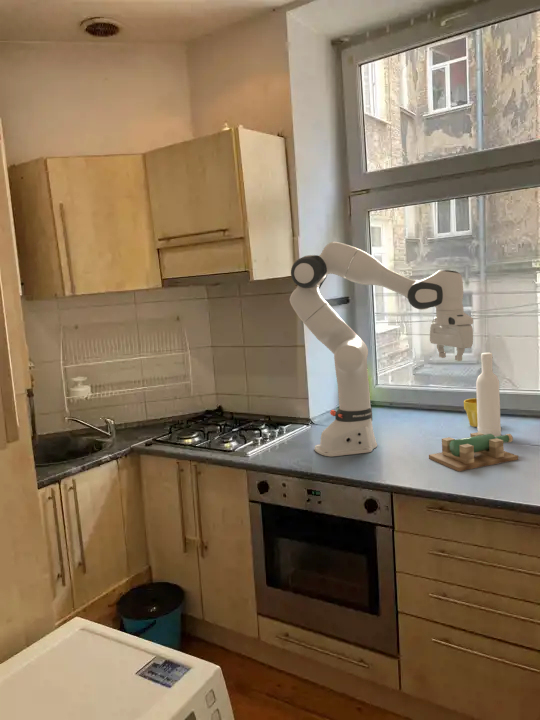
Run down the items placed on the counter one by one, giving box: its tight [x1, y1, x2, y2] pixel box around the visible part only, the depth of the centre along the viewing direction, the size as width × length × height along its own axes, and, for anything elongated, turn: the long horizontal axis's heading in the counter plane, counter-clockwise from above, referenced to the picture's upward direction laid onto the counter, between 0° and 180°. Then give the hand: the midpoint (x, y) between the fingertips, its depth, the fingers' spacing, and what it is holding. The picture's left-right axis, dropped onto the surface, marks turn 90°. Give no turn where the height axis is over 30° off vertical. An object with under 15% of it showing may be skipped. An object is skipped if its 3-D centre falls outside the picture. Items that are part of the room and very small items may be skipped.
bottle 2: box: [450, 433, 514, 456], centre depth 197 cm, size 21×5×5 cm, turn 109°
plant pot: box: [463, 397, 478, 428], centre depth 238 cm, size 10×10×10 cm
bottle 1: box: [475, 352, 502, 437], centre depth 221 cm, size 8×8×30 cm
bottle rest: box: [428, 431, 519, 472], centre depth 197 cm, size 22×16×6 cm
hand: (450, 359), depth 208 cm, fingers open, 8 cm apart
